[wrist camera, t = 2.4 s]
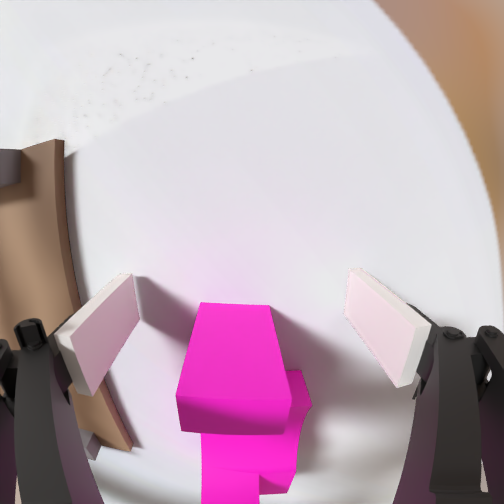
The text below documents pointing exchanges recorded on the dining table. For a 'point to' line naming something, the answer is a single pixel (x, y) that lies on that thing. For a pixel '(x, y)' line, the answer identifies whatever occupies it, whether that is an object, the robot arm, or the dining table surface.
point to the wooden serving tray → (46, 272)
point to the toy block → (241, 404)
